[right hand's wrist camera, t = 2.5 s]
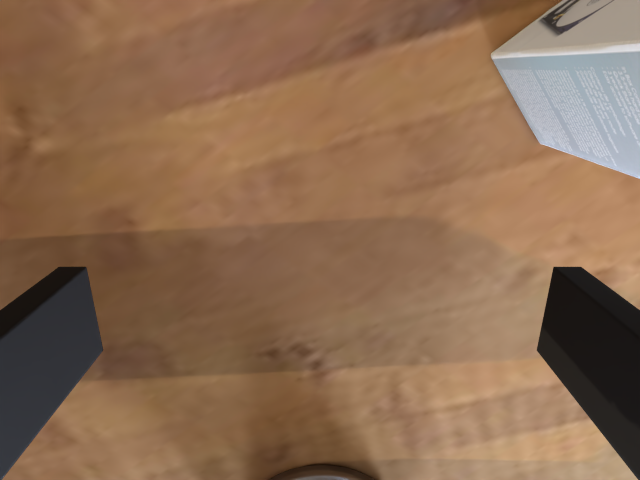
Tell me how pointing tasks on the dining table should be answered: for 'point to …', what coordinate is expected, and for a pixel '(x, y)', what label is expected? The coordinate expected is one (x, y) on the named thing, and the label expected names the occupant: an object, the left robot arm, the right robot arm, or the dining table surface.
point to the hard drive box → (580, 80)
